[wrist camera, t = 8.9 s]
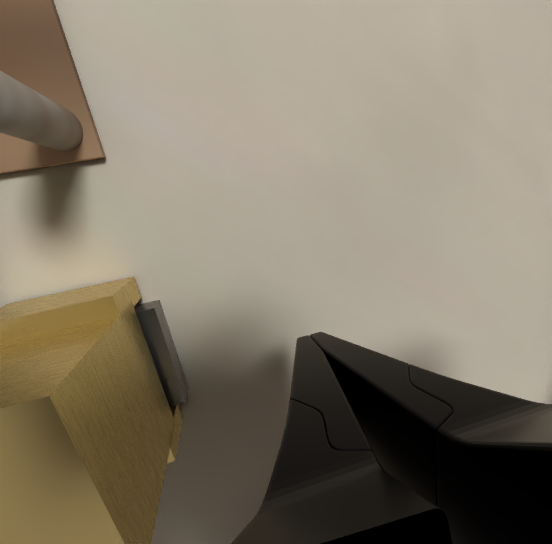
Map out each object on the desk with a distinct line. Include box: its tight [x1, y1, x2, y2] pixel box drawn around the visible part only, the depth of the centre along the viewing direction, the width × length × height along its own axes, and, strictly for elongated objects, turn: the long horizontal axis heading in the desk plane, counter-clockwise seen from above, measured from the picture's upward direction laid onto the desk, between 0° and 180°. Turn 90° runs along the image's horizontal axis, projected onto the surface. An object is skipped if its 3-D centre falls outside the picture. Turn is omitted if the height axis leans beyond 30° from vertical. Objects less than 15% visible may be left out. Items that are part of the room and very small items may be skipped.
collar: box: [0, 277, 183, 544], centre depth 8 cm, size 6×4×5 cm, turn 10°
